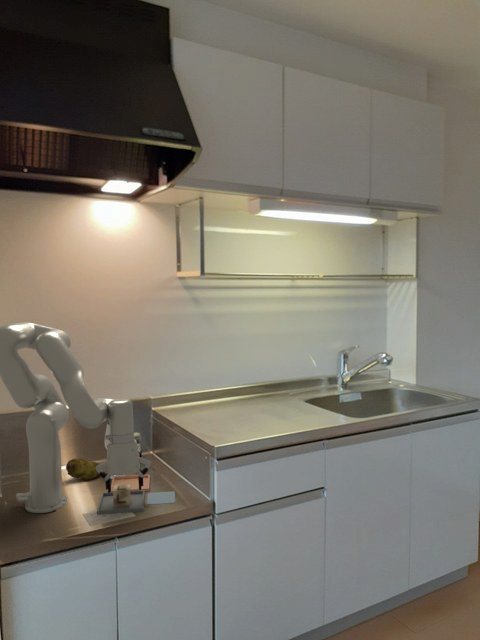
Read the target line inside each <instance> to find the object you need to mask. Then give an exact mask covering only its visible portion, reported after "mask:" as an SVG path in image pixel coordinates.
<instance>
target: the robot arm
mask: <svg viewBox="0 0 480 640" xmlns="http://www.w3.org/2000/svg"><path fill="white" fill-rule="evenodd" d="M24 348H26V349H30V350H31V349H32V350H35V351H36V353H37V355H38V356H39V357H40V358H41V360H42V361H43V363H44V364H45V365H46V367H47V368H48V370H49V372H50V373H51V374H52V375H53V377H54V378H55V380H56V381H57V382H58V383H57V384H59V388H60V391H61V394H62V396H63V398H64V400H63V398H62V396H61V395H60V393H59V391H58V389H57V388H56V386H55V385H54V383H53V381H52V380H51V379H50V378H49V377H47V376H46V375H44V374H42V373H41V374H40V373H38V374H37V373H33V372H32V371H31V369H30V368H29V365H28V364H27V362H26V360H25V359H24V358H23V357H22V356H20V354H19V353H18V351H19V350H22V349H24ZM70 348H71V338H70V335H68V333H67V332H65V331H64V330H61V329H58V328H54V327H50V326H46V325H41V324H38V323H37V324H36V323H32V322H29V321H19V322H14V323H13V322H11V323H8V324H4V325H2V326H0V378H1V380H2V383H3V384H4V386H5V388H6V389H7V391H8V392H9V394H10V396H11V399H13V401H14V403H15V404H16V405H17V406H18V407H19V408H21V409H25V410H26V409H28V410H29V409H31V408H34V410H35V411H33V412H32V413H31V414H30V415H29V416H28V418H27V420H26V424H25V433H26V437H27V443H28V445H27V446H28V460H29V461H28V463H29V464H28V466H29V491H27V492H20V493H18V492H17V493H16V495H15V496H16V497H15V498H16V500H17V502H18V503H21V502H25V506H24V509H25V510H26V511H27V512H29V513H33V514H46V513H52V512H55V511H57V510H58V509H61V508H63V507H64V506H65V505H67V503H68V497H67V496H65V495H64V494H63V487H62V486H63V482H62V480H63V479H62V448H61V447H62V446H61V445H62V444H61V440H60V436H59V431H60V430H61V429H62V428H64V426H66V424H67V423H68V420H69V415H70V414H69V410H70V412H71V413H72V415H73V416H74V418H75V419H76V420H77V422H79V424H80V425H81V426H82V427H85V428H87V429H95V428H98V427H100V426H101V425H102V423H104V422H105V421H107V420H108V423H109V428H110V434H109V435H105V434H104V440H105V439H106V440H109V441H110V442H109V443H108V447H107V449H106V460H105V461H103V462H102V463H101V462H100V463H99V465H98V466H96V470H97V472H98V473H99V475H98V476H99V477H101V478H102V479H103V480H104V482H105V490H107V492H108V493H110V492H111V485H112V480H111V478H110V477H111V475H112V476H114V475H125V474H126V475H134V474H136V475H139V477H138V482H139V489H140V490H141V486H143V476H144V475H147V473H148V471H149V469H150V467H151V466H152V465H151V464H152V462H151V460H148V459H146V458H143V457H140V450H139V446H138V442H137V439H135V426H134V424H135V423H134V408H133V401H132V400H131V399H130V398H124V397H121V398H115V399H113V398H105V397H103V398H102V397H97V398H94V399H93V398H92V396H91V395H90V393H89V392H88V390H87V388H86V386H85V385H86V384H85V381H84V368H83V366H82V364H80V362H79V360H78V359H77V358H76V357H75V355H74V353H73V352H72V350H71V349H70ZM141 464H143V465H145V467H143V469H142V468H141V467H140V466H141ZM104 467H106V472H105V471H104V470H103V468H104Z"/></svg>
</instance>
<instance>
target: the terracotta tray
mask: <svg viewBox="0 0 480 640" xmlns="http://www.w3.org/2000/svg"><path fill="white" fill-rule="evenodd" d="M138 477H139V475H138V474H136V475H134V474H131V475H126V476H115V477H113V480H111V492H113V490H114V486H115V485H130V491H137V490H140V489H139V482H138ZM150 477H151V476H150V474H145V475H144V476H143V486H141V490H145V493H150V483H151V482H150V481H151V479H150Z"/></svg>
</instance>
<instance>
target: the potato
mask: <svg viewBox="0 0 480 640" xmlns="http://www.w3.org/2000/svg"><path fill="white" fill-rule="evenodd" d="M99 464H100V463H99V462H95V461H91V460H88V459H85V458H81V457H75V458H72V459H70V460H68V461H67V463H66V465H65V469H66V471H67V475H69V476H70V478H71V477H72V478H74V479H80V480H84V481H85V480H87V481H88V480H92V479H95V478H97V477H99V476H100V475H99V473H98V472H97V470H96V466H98V465H99Z"/></svg>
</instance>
